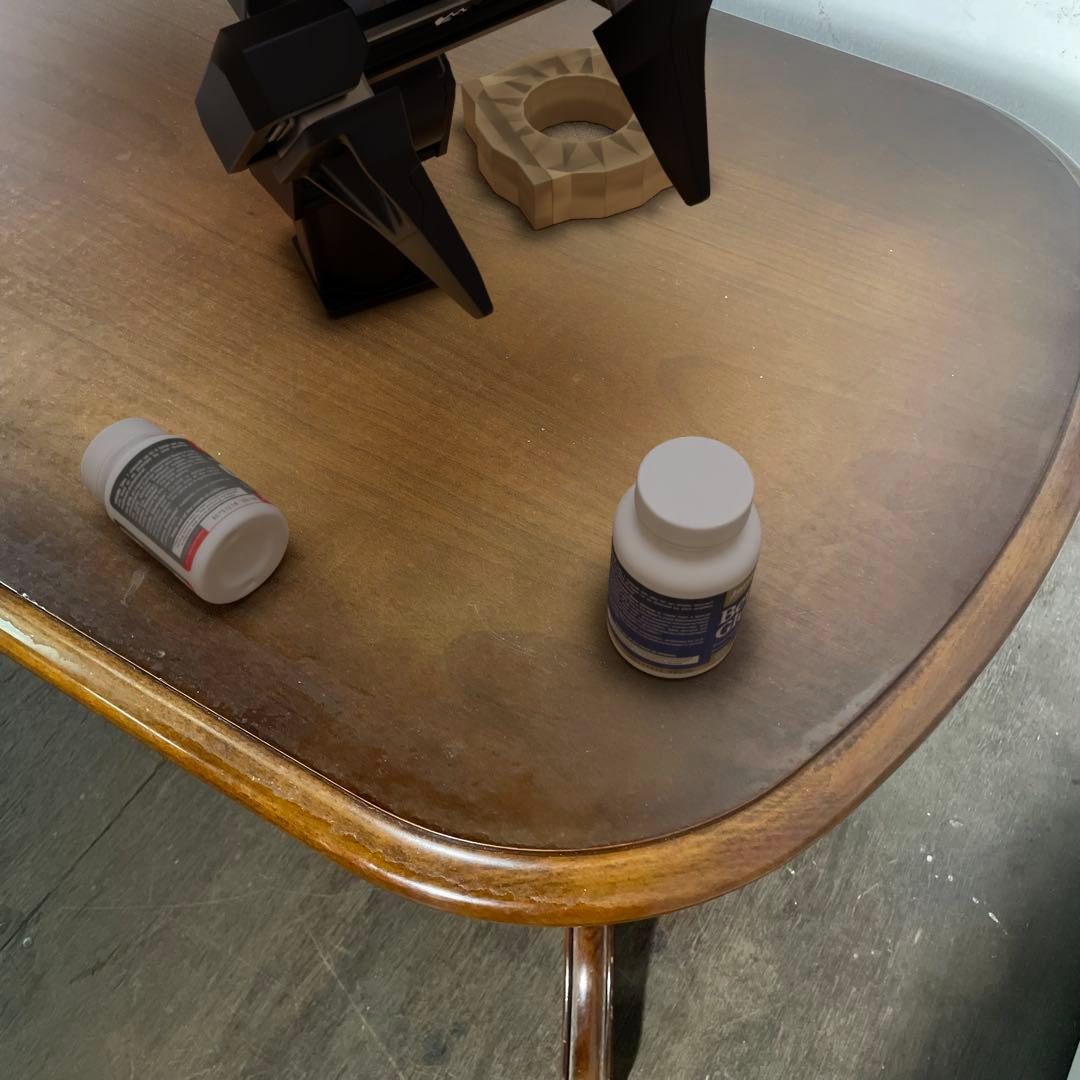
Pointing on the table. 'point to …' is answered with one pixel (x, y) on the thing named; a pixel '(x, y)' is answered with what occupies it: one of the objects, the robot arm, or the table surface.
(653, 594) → the pill bottle
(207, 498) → the pill bottle
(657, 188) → the socket plate
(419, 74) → the robot arm
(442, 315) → the table surface
